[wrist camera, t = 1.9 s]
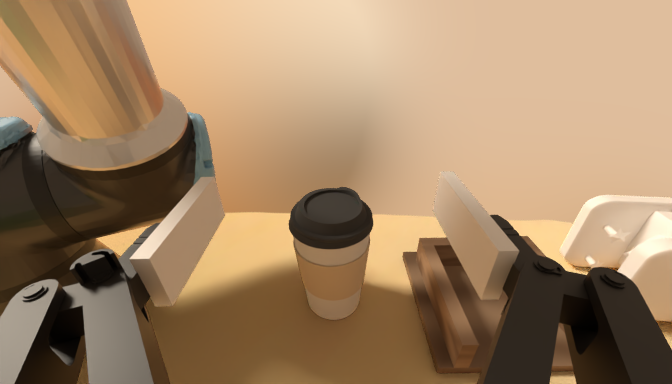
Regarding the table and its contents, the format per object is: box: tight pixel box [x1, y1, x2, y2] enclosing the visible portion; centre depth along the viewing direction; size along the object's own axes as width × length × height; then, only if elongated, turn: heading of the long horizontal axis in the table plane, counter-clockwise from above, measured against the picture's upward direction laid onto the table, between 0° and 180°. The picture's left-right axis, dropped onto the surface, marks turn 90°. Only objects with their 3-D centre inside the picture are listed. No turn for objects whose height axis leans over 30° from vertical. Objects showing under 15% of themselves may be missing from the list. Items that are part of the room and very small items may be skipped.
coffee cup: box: [289, 187, 373, 320], centre depth 33 cm, size 9×9×15 cm
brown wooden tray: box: [403, 236, 574, 373], centre depth 34 cm, size 16×18×5 cm
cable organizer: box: [559, 195, 672, 322], centre depth 33 cm, size 15×11×12 cm
